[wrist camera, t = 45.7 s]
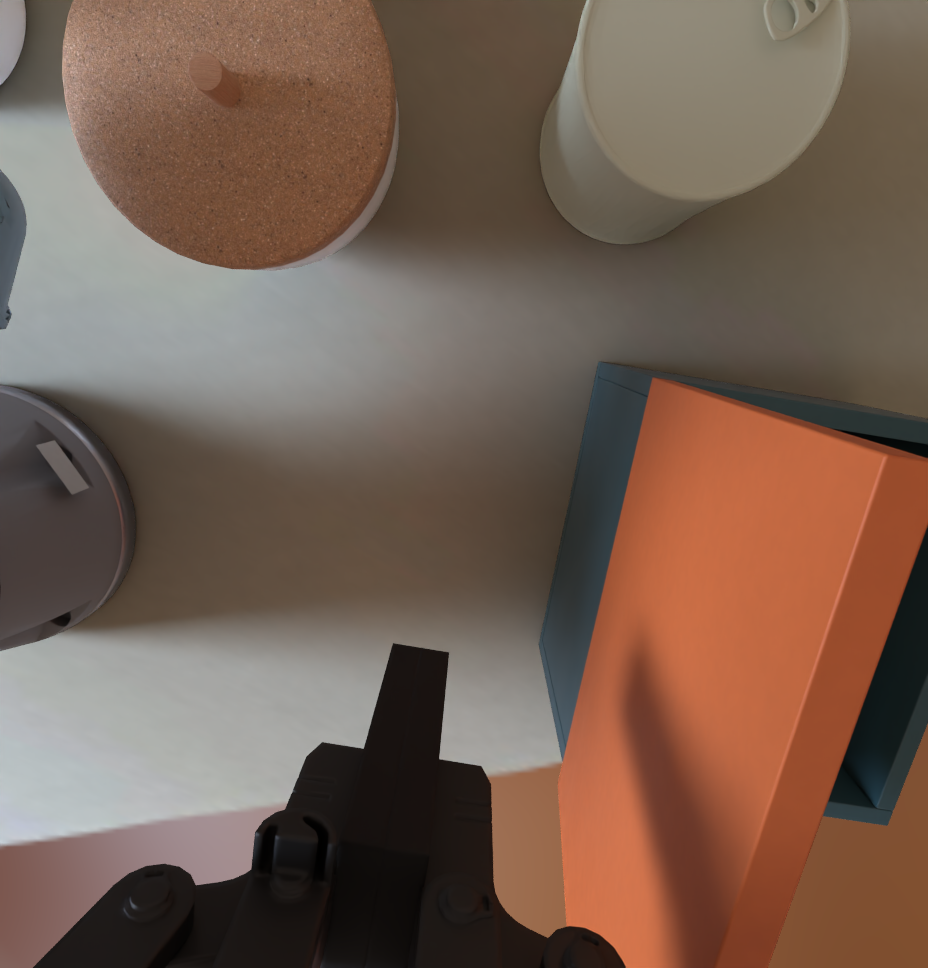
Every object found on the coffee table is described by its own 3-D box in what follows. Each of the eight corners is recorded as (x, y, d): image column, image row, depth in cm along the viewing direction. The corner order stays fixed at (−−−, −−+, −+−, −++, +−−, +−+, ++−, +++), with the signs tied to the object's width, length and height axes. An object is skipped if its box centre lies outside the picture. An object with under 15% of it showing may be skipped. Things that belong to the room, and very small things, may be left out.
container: (854, 403, 35) (1040, 441, 23) (767, 680, 39) (888, 826, 28) (598, 361, 35) (659, 378, 23) (538, 645, 39) (565, 777, 27)
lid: (951, 465, 8) (885, 453, 8) (632, 1345, 12) (591, 1333, 12) (674, 380, 23) (652, 377, 23) (575, 787, 27) (557, 783, 27)
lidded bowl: (405, 295, 34) (372, 280, 23) (173, 270, 34) (33, 243, 23) (426, 30, 31) (400, -128, 20) (171, 1, 31) (8, -173, 20)
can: (748, 188, 32) (902, 109, 21) (587, 277, 34) (647, 250, 22) (675, 8, 30) (801, -191, 19) (508, 109, 32) (527, -18, 20)
